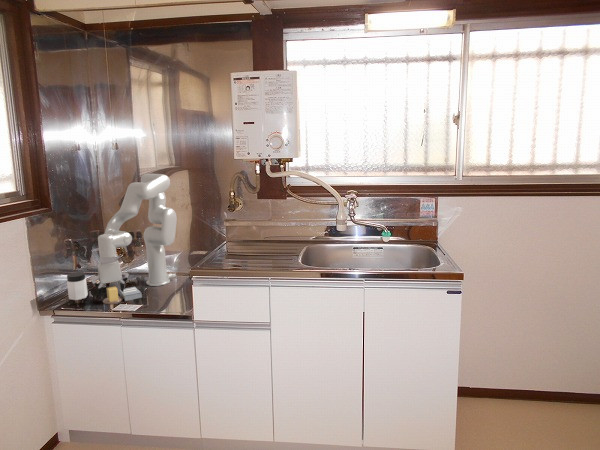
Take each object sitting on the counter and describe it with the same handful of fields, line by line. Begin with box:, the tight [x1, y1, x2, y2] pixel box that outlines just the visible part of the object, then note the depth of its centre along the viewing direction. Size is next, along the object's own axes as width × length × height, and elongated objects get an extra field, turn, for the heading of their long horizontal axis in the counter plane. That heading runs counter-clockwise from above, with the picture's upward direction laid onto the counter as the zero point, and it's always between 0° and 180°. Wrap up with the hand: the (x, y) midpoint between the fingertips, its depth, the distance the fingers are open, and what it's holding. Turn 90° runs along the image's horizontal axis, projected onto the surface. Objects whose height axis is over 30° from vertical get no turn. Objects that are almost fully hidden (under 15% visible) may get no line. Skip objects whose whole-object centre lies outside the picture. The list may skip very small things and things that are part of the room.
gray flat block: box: [118, 286, 143, 302], centre depth 226 cm, size 8×12×3 cm, turn 35°
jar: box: [66, 271, 89, 301], centre depth 224 cm, size 9×8×12 cm
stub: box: [106, 285, 119, 302], centre depth 219 cm, size 4×5×6 cm
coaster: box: [102, 295, 124, 305], centre depth 220 cm, size 9×9×1 cm
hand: (112, 292), depth 219 cm, fingers open, 9 cm apart
